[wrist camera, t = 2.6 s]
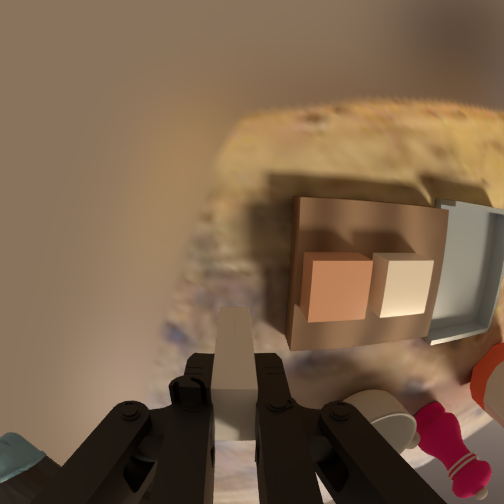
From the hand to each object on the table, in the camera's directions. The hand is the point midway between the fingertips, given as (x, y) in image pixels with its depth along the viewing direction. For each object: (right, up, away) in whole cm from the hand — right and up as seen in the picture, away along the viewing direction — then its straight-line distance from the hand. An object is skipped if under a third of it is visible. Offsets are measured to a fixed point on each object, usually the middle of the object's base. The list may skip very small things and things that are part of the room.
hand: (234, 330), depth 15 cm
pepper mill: (+29, -22, +20) cm, 41 cm away
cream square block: (+14, +2, +10) cm, 17 cm away
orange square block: (+8, +2, +10) cm, 12 cm away
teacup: (+16, -17, +18) cm, 29 cm away
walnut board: (+12, +2, +13) cm, 18 cm away
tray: (+27, +2, +14) cm, 30 cm away
